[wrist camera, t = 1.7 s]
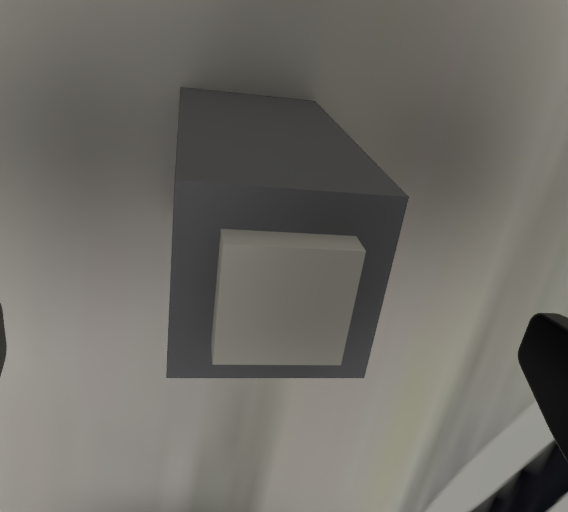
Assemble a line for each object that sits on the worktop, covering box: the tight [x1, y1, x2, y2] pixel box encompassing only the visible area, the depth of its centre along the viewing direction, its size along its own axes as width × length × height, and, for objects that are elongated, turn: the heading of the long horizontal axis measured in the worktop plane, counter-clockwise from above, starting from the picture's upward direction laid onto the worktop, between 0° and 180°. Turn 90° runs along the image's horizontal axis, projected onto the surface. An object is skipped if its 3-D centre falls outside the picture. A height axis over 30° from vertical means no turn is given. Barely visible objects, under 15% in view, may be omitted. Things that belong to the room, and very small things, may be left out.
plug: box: [166, 87, 409, 378], centre depth 13 cm, size 4×4×9 cm
